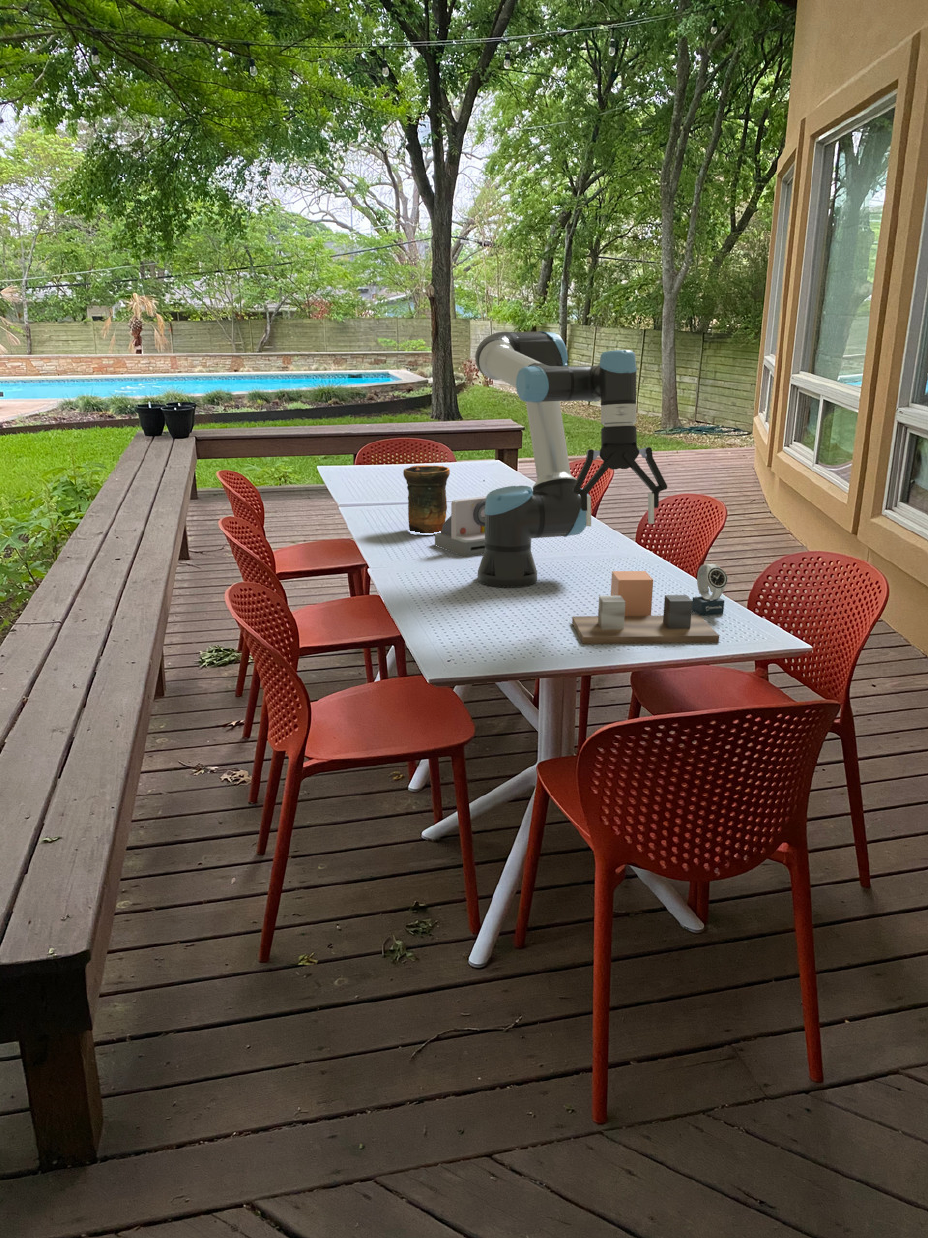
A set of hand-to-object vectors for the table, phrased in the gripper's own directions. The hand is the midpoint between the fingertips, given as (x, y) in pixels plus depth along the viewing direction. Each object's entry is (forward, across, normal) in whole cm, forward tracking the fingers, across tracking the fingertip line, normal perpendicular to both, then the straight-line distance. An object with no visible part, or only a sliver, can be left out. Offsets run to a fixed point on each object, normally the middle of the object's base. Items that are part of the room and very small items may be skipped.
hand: (619, 524), depth 202 cm
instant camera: (+10, -31, +68) cm, 76 cm away
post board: (+22, +3, -10) cm, 25 cm away
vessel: (+7, -46, +89) cm, 100 cm away
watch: (+21, +20, +4) cm, 30 cm away
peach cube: (+20, +2, +2) cm, 21 cm away
